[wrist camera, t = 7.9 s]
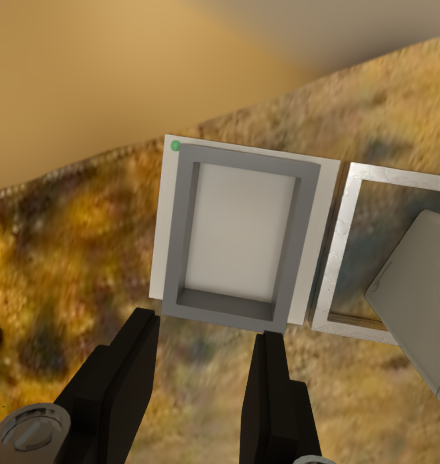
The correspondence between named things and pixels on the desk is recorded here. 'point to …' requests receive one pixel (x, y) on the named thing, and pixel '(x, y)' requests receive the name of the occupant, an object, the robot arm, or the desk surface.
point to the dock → (238, 232)
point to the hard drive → (413, 296)
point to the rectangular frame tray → (336, 246)
